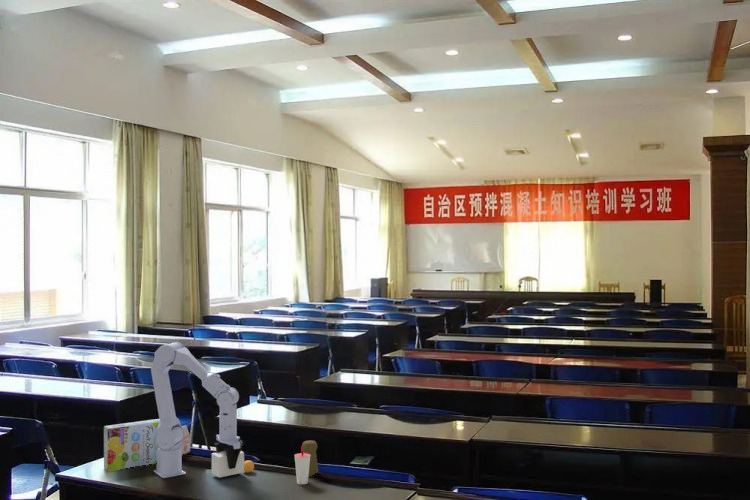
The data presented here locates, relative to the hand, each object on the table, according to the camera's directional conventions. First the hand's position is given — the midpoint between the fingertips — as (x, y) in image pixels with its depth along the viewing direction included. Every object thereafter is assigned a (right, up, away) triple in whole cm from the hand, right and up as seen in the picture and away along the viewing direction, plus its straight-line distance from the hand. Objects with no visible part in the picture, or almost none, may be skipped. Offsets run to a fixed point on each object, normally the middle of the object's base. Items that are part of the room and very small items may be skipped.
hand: (227, 466), depth 230 cm
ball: (+6, -2, +4) cm, 8 cm away
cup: (+26, -4, -7) cm, 27 cm away
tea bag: (-23, -4, +27) cm, 36 cm away
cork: (+27, -4, +3) cm, 28 cm away
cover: (0, -2, 0) cm, 2 cm away
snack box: (-35, -4, +13) cm, 37 cm away
